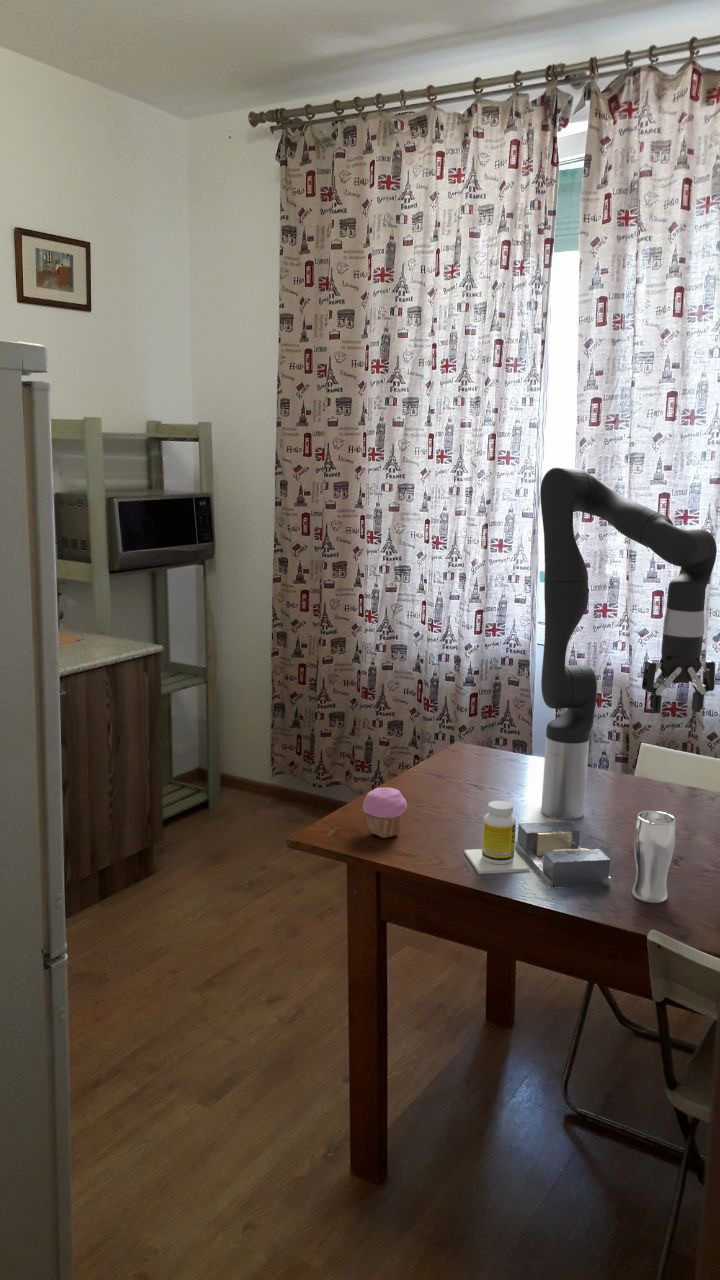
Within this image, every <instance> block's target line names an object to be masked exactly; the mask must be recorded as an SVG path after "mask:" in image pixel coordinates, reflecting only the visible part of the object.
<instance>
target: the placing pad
mask: <svg viewBox="0 0 720 1280" xmlns="http://www.w3.org/2000/svg"><path fill="white" fill-rule="evenodd" d="M463 853H464V855H465V856H466V858H467V859H468V860H469V862H470V863H471V864H472V866H473V867H474V869H475V871H476V873H478V875H484V874H485V875H486V874H504V873H524V872H531V868H530V866H529V865H528V864H527V862H525V860H524V859H523V858H522V857H521V856H520V855H519V854H518V852H517V851H516V850H515V849H514V859H513V861H512V862H510V863H508V864H493V863H489V862H487V861H485V860H484V859H483V858H482V848H481V849H480V848H474V849H463Z"/></svg>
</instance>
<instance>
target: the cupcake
mask: <svg viewBox="0 0 720 1280" xmlns="http://www.w3.org/2000/svg"><path fill="white" fill-rule="evenodd" d="M407 806H408V805H407V800H406V799H405V797H404V796H403V794H402V793H401V791H400V790H399V789H396V788H393V787H376V788H374V789H372V790H371V791H369V792H368V793H367V794H366V796H365V798H364V801H363V804H362V809H363V811H364V813H365V816H366V822H367V825H368V827H369V830H370V832H371V833H372V834H373V835H376V836H378V837H380V838H382V839H386V838H391V837H394V836H397V835H398V834H399V833H400V830H401V829H400V828H401V827H400V826H401V820H402V815H403V814H404V813H405V812H406V811H407Z"/></svg>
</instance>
